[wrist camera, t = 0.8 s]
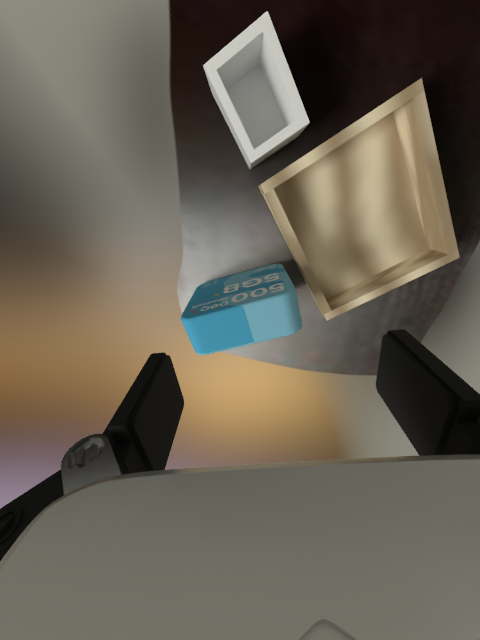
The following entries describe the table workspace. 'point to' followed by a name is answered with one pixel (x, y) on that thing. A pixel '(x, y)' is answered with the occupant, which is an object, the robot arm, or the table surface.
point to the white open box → (257, 92)
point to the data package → (242, 310)
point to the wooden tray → (366, 206)
